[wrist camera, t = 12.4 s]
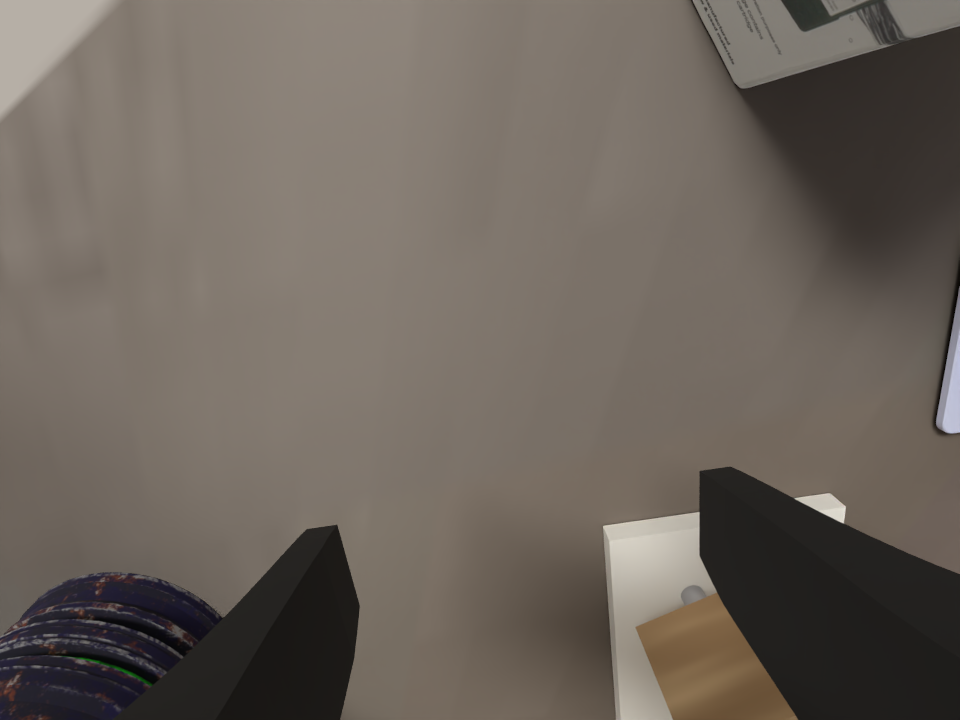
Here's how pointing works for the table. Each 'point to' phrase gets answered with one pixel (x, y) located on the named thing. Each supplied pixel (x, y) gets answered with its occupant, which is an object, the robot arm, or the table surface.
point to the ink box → (813, 31)
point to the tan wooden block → (709, 666)
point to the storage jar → (97, 646)
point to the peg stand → (657, 595)
